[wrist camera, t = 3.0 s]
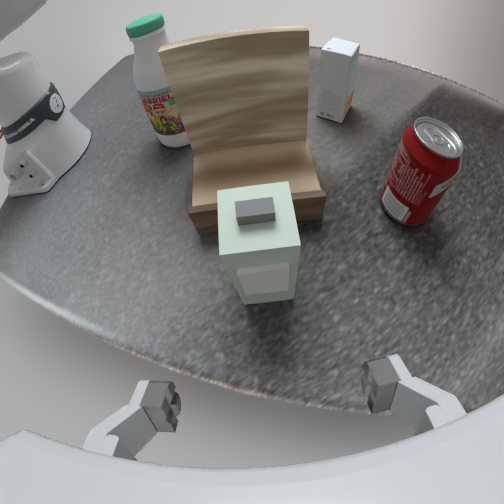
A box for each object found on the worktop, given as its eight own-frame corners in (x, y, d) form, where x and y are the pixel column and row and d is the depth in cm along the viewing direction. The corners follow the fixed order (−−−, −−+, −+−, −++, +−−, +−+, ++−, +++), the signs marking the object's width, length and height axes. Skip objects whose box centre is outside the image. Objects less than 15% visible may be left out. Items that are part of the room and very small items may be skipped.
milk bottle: (162, 123, 42) (121, 22, 24) (206, 112, 42) (177, 4, 24) (157, 154, 39) (104, 40, 21) (207, 142, 39) (170, 17, 21)
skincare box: (342, 124, 38) (351, 56, 27) (315, 116, 39) (319, 49, 29) (352, 105, 40) (360, 43, 29) (327, 97, 41) (332, 36, 31)
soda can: (395, 235, 30) (436, 167, 19) (369, 189, 33) (394, 115, 22) (435, 221, 30) (480, 158, 19) (409, 179, 33) (440, 111, 22)
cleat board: (321, 218, 32) (344, 78, 15) (199, 234, 32) (134, 107, 16) (302, 148, 37) (304, 25, 20) (200, 161, 37) (160, 46, 21)
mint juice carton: (244, 308, 28) (216, 254, 17) (240, 259, 31) (214, 181, 19) (294, 302, 28) (302, 243, 16) (287, 253, 30) (288, 172, 19)
